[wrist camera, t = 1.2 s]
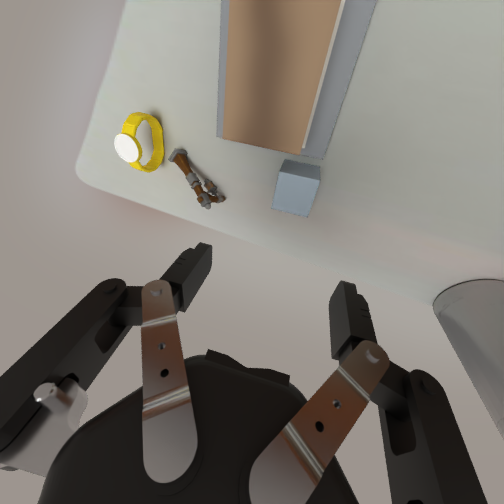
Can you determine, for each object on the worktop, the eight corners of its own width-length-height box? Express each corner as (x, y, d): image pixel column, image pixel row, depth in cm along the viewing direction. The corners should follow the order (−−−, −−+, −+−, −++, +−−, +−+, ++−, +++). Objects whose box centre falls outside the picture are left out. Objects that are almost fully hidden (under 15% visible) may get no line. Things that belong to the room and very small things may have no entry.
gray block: (319, 166, 24) (320, 180, 20) (308, 199, 26) (307, 217, 22) (285, 158, 24) (279, 171, 20) (277, 192, 27) (271, 208, 23)
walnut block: (341, -1, 16) (349, -32, 12) (302, 144, 22) (299, 155, 18) (251, -13, 17) (232, -46, 13) (238, 131, 23) (222, 138, 19)
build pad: (378, -11, 16) (382, -17, 15) (322, 157, 23) (323, 159, 22) (226, -31, 17) (222, -38, 16) (219, 135, 24) (216, 136, 24)
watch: (147, 110, 25) (107, 109, 20) (168, 116, 25) (134, 115, 20) (151, 163, 28) (118, 173, 24) (170, 168, 28) (141, 179, 23)
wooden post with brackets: (223, 209, 29) (200, 213, 25) (193, 162, 30) (166, 159, 26) (231, 202, 28) (209, 204, 24) (200, 153, 29) (173, 148, 25)
